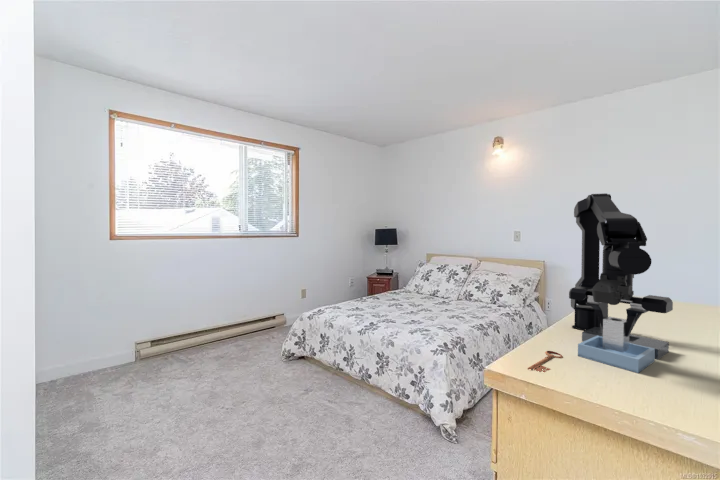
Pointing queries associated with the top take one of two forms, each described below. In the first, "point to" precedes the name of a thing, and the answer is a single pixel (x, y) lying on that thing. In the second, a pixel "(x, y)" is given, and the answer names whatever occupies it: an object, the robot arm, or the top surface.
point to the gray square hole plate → (633, 341)
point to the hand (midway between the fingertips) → (615, 333)
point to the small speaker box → (615, 334)
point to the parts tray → (617, 355)
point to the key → (544, 361)
